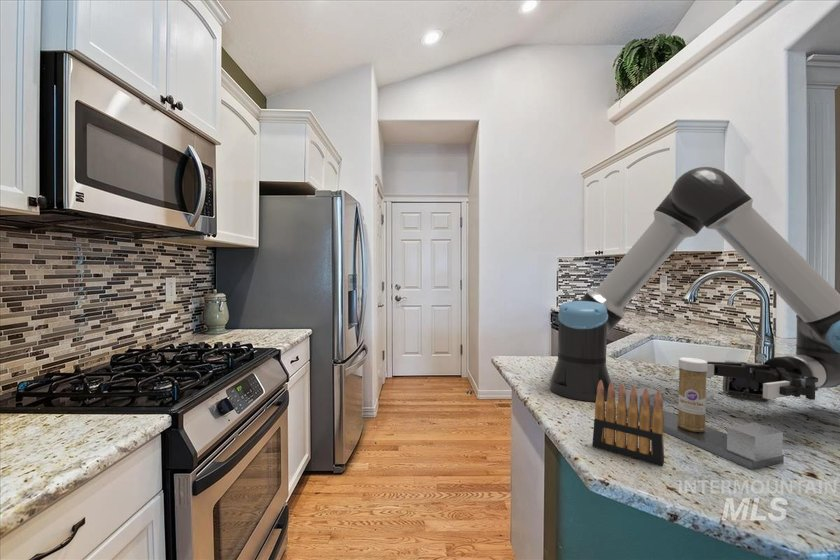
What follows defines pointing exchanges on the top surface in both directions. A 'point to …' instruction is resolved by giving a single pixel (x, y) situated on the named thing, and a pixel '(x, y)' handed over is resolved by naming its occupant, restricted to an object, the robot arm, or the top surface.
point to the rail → (725, 438)
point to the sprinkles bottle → (692, 394)
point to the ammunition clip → (629, 425)
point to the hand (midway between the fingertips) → (725, 381)
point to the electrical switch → (743, 386)
